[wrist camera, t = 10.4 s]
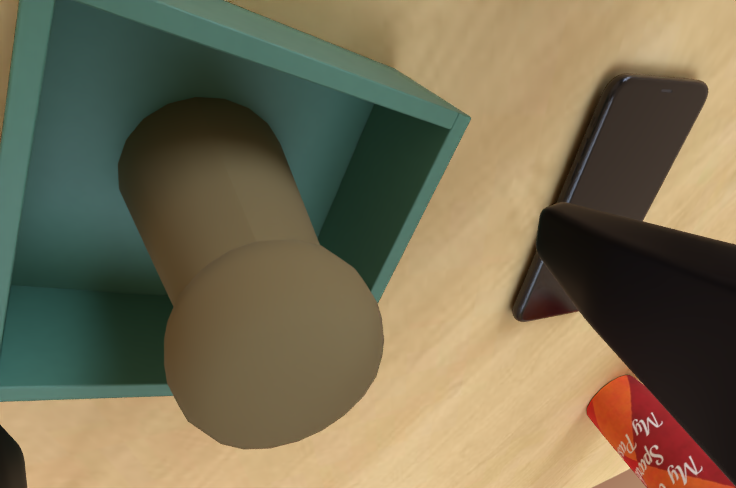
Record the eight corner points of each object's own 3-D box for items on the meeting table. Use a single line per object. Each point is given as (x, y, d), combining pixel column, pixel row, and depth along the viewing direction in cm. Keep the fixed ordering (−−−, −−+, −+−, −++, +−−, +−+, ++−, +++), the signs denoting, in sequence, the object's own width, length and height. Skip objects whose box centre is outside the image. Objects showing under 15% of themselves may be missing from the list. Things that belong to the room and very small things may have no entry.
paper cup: (592, 380, 45) (746, 533, 35) (654, 356, 48) (813, 491, 38) (566, 435, 49) (696, 586, 39) (624, 411, 52) (759, 545, 42)
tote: (395, 68, 21) (472, 117, 17) (293, 307, 26) (334, 390, 22) (39, -74, 14) (25, -49, 10) (-11, 288, 19) (-34, 404, 15)
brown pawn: (263, 249, 22) (371, 467, 14) (106, 238, 19) (131, 512, 11) (303, 116, 20) (462, 290, 12) (129, 78, 17) (184, 282, 8)
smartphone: (589, 301, 37) (703, 78, 29) (599, 309, 37) (718, 83, 28) (504, 317, 34) (605, 69, 26) (512, 326, 33) (620, 75, 25)
